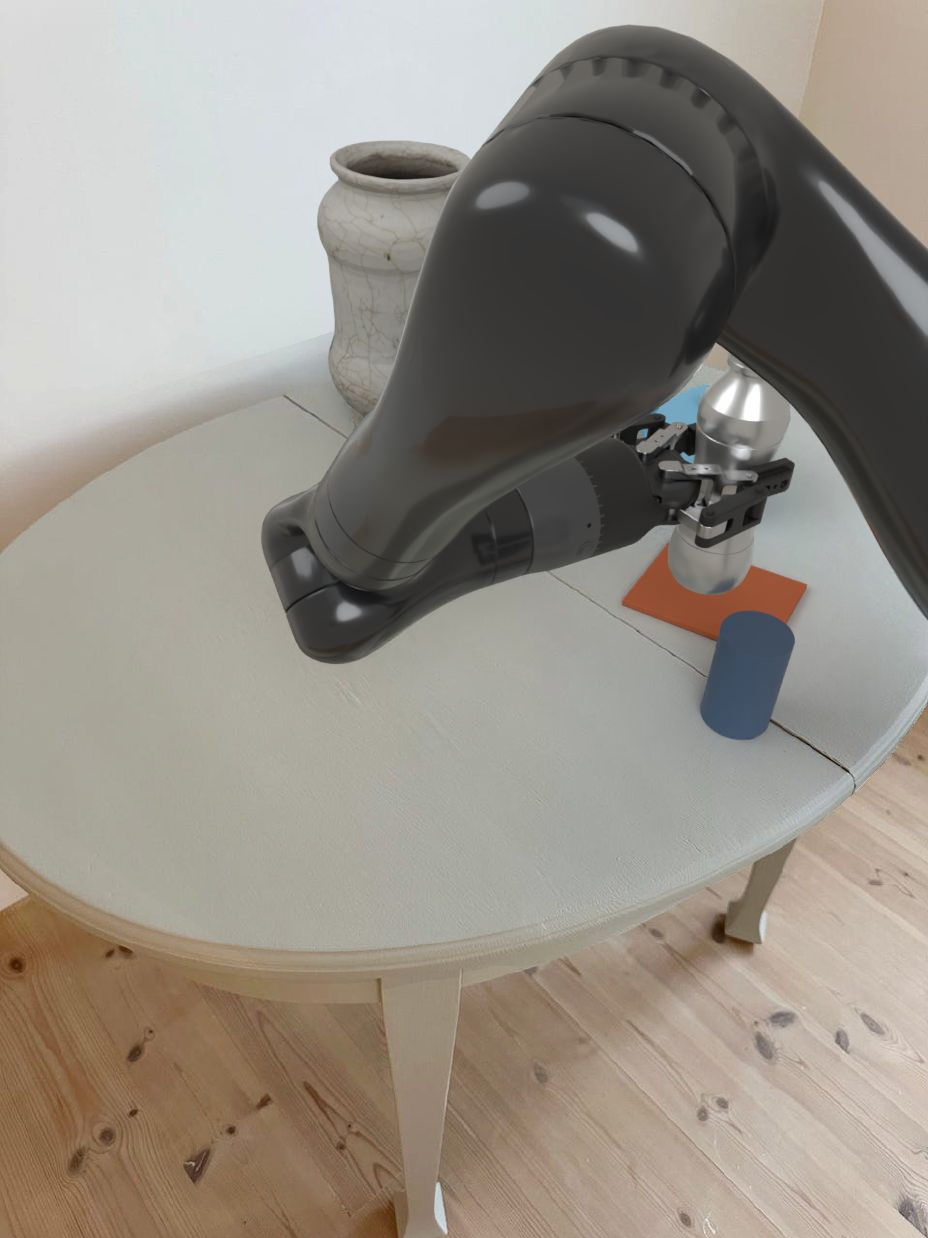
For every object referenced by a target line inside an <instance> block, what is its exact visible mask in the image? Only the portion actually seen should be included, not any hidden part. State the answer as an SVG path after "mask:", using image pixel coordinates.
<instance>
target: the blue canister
mask: <svg viewBox="0 0 928 1238" xmlns="http://www.w3.org/2000/svg"><path fill="white" fill-rule="evenodd" d="M795 643H796V638H795V634H794V632H793V630H792V629H791V627H790V626H789V625H788V624H787V623H786V624H785V623H784V622H783V621H782V620H780V619H778V618H776V617H774V616H772V615H770V614H767V613H763V612H758V611H740V612H736V613H733V614H731V615H729V616H727V617H726V618H725V619H724V620H723V622H722V624H721V628H720V632H719V636H718V640H717V641H716V644H715V649H714V652H713V656H712V661H711V664H710V668H709V670H708V671H709V672H708V675H707V680H706V684H705V687H704V691H703V696H702V700H701V704H700V709H699V711H700V715H701V718H702V720H703V722H704V723H705V724H706V725H707V727H709V729H711V730H712V731H713V732H715V733H716V734H718V735H721V736H722V737H725V738H728V739H732V740H739V741H740V740H741V741H744V740H752V739H755V738H758V737H760V736H761V735H763V734H764V733H765V732H766V731H767V729H768V728H769V725H770V722H771V720H772V719H771V718H772V716H773V712H774V709H775V706H776V703H777V700H778V697H779V693H780V690H781V687H782V684H783V682H784V678H785V675H786V672H787V670H788V666H789V663H790V659H791V656H792V654H793V650H794V648H795Z"/></svg>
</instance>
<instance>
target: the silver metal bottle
mask: <svg viewBox="0 0 928 1238" xmlns="http://www.w3.org/2000/svg"><path fill="white" fill-rule="evenodd" d="M726 363H727V365H728V366H729V367H728V368H727V369H726V370H724V371H723V372H722V373H721V374H720V375H718V376H717V377H716V378H715V379H714V380H713V381H712V382H711V383H710V384H708V385H709V387H708V388H707V389H706V390H705V392H704V394H703V396H702V398H701V399H700V401H699V404H698V412H697V422H696V440H695V455H694V461H693V464H719V465H720V466H721V467H722V469H723V470H749V468H752V467H755V466H759V465H762V464H765V463H769V462H772V461H775V458H776V456H777V454H778V451H779V449H780V447H781V445H782V442H783V440H784V438H785V436H786V434H787V431H788V429H789V425H790V423H791V404H790V403H789V402H788V401H787V400H786V399H785V398H784V397H783V396H782V395H780V394H779V393H778V392H777V391H776V390H775V389H774V388H773V387H772V386H771V385H770V384H768V383H767V382H766V381H765V380H763V379H762V378H761V377H760V376H758V375H757V374H756V373H754V372H753V371H752V370H751V369H749V368H748V367H747V366H746V365H744V364H743V363H742V362H741V361H739V360H738V359H737V358H736V357H734V356H733V355H732V354H730V353H729V352H728V354H727V359H726ZM707 484H708V480H702V484H701V488H700V493H699V497H698V499H697V500H700V499H702V498H703V497H704V496H705V493H706V489H707ZM736 489H737V485H727V486H725V487H724V488H723V491H722V495H729V494H735V493H736ZM755 529H756V526H754V527H752V528H750V529H748V530H746V531H743V532H741V533H739V534H737V535H735V536H733V537H731V538H729V539H727V540H725V541H723V542H721V543H718V544H716V545H714V546H712V547H710V548H700V547H698V546H697V545H695V543H694V541H695V536H696V532H694V531H693V530H691V529H690V528H688V527H686V526H685V525H683V524H682V523H681V524H678V525H674V529H672V533H671V536H670V539H669V541H668V542H669V545H668V565H669V568H670V571H671V572H672V574H673V576H674V578H675V579H676V580H677V582H678V583H679V584H681V585H682V586H683V587H685V588H687V589H689V590H691V591H693V592H696V593H699V594H705V595H720V594H724V593H727V592H729V591H731V590H732V589H734V588H735V587H737V586H738V585H740V584H741V583H742V581H743V580H744V578H745V576H746V574H747V572H748V570H749V568H750V566H751V565H753V559H754V558H753V557H754V548H755Z"/></svg>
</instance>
